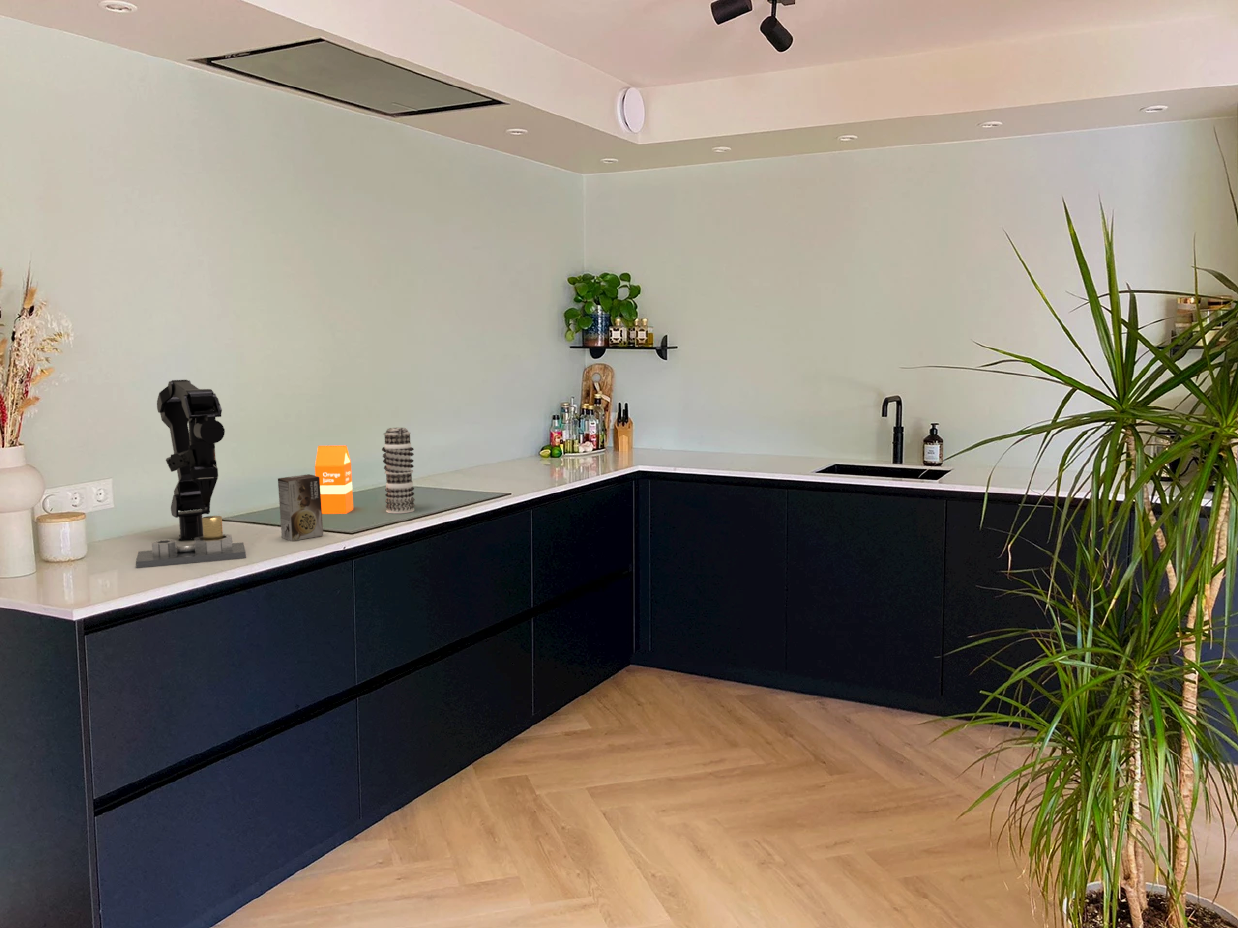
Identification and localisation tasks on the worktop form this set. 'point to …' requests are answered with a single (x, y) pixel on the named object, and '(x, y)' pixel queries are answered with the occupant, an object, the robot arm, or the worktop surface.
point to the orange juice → (334, 479)
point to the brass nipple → (212, 528)
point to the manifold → (190, 552)
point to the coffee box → (300, 507)
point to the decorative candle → (398, 471)
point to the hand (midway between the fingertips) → (206, 501)
